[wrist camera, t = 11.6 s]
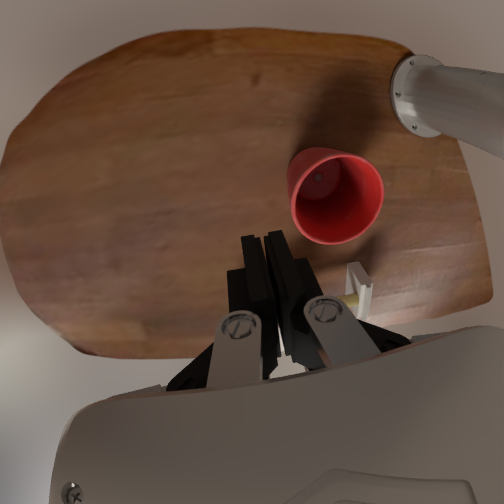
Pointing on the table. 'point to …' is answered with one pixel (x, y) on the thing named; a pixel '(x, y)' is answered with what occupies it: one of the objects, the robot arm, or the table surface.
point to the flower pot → (333, 194)
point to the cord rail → (357, 290)
